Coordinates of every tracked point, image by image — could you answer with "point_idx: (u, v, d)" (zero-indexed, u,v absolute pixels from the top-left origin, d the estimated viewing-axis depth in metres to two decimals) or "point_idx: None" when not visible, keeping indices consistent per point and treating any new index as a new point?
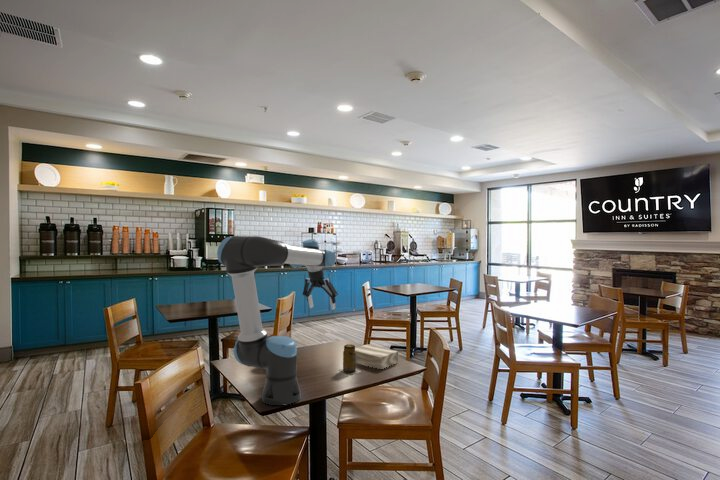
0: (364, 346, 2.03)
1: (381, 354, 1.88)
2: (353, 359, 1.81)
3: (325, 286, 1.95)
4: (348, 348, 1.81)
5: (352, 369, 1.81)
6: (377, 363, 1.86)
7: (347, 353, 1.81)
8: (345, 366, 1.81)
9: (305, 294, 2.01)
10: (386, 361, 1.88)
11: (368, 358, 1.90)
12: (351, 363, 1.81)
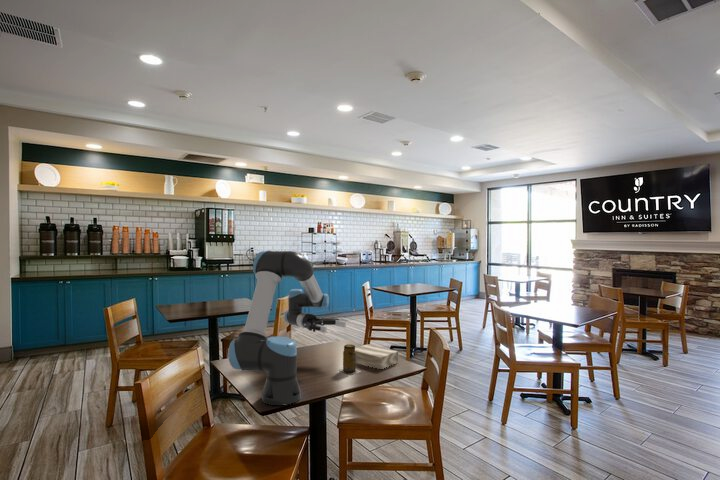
0: (364, 346, 2.03)
1: (381, 354, 1.88)
2: (353, 359, 1.81)
3: None
4: (348, 348, 1.81)
5: (352, 369, 1.81)
6: (377, 363, 1.86)
7: (347, 353, 1.81)
8: (345, 366, 1.81)
9: (312, 326, 1.88)
10: (386, 361, 1.88)
11: (368, 358, 1.90)
12: (351, 363, 1.81)
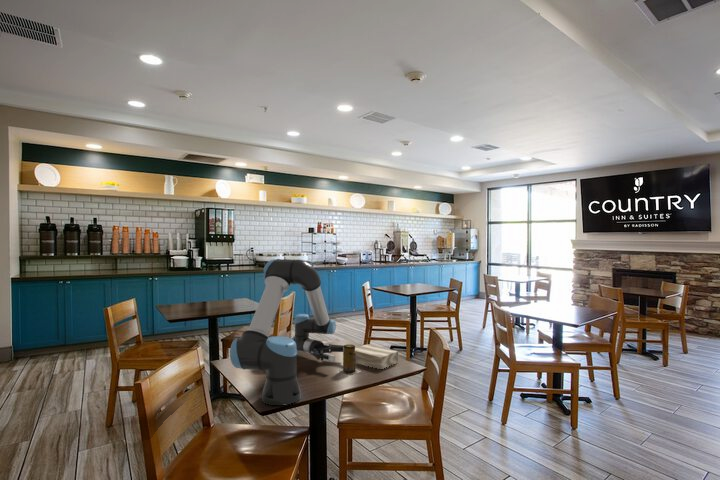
0: (364, 346, 2.03)
1: (381, 354, 1.88)
2: (353, 359, 1.81)
3: None
4: (348, 348, 1.81)
5: (352, 369, 1.81)
6: (377, 363, 1.86)
7: (347, 353, 1.81)
8: (345, 366, 1.81)
9: (320, 355, 1.85)
10: (386, 361, 1.88)
11: (368, 358, 1.90)
12: (351, 363, 1.81)
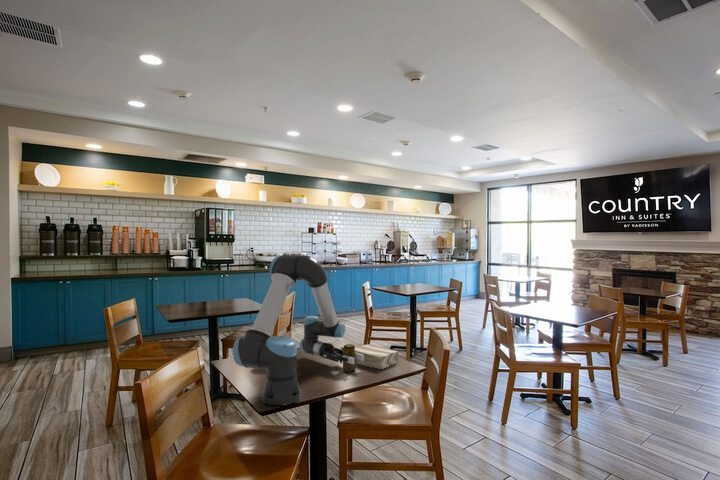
0: (364, 346, 2.03)
1: (381, 354, 1.88)
2: None
3: None
4: (348, 348, 1.81)
5: (352, 369, 1.81)
6: (377, 363, 1.86)
7: (347, 353, 1.80)
8: (345, 366, 1.81)
9: (339, 357, 1.80)
10: (386, 361, 1.88)
11: (368, 358, 1.90)
12: None
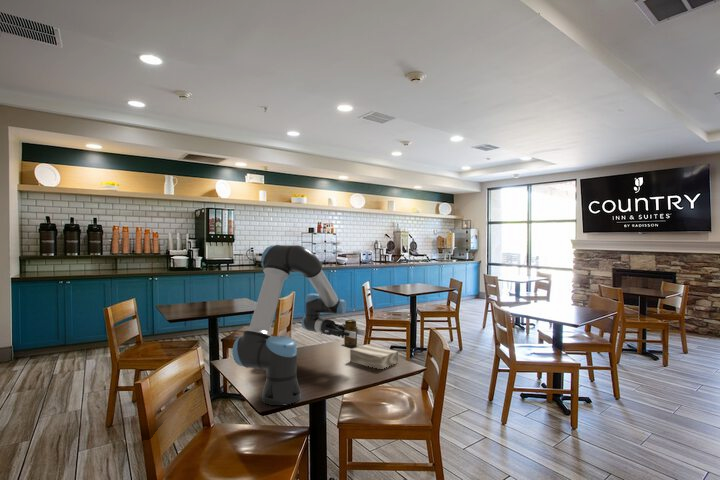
0: (364, 346, 2.03)
1: (381, 354, 1.88)
2: None
3: None
4: (349, 323, 1.82)
5: (353, 344, 1.82)
6: (377, 363, 1.86)
7: (348, 328, 1.81)
8: (346, 341, 1.82)
9: (340, 332, 1.81)
10: (386, 361, 1.88)
11: (368, 358, 1.90)
12: (352, 338, 1.82)
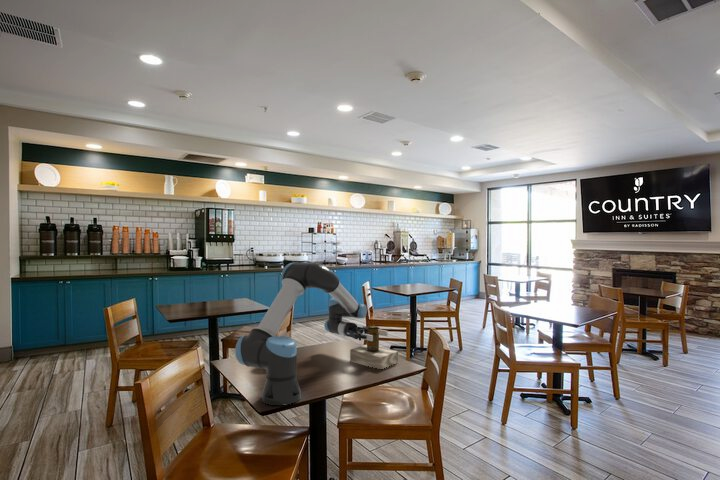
0: (364, 346, 2.03)
1: (381, 354, 1.88)
2: (377, 339, 1.94)
3: None
4: (372, 329, 1.94)
5: (376, 348, 1.94)
6: (377, 363, 1.86)
7: (371, 334, 1.94)
8: (369, 345, 1.94)
9: (358, 335, 1.92)
10: (386, 361, 1.88)
11: (368, 358, 1.90)
12: (375, 343, 1.94)
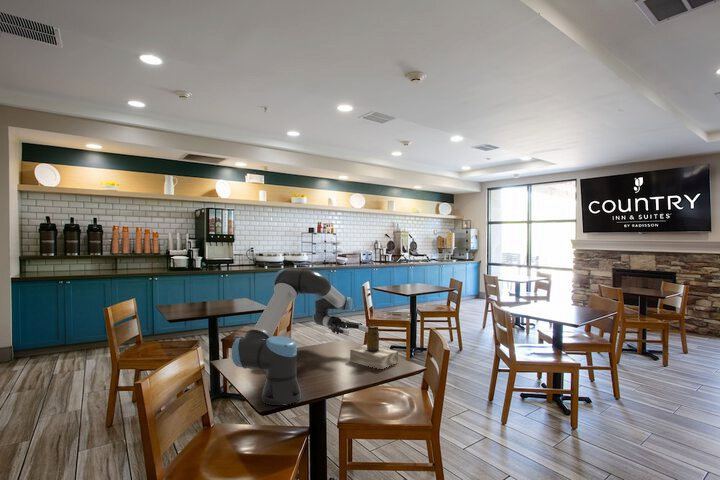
0: (364, 346, 2.03)
1: (381, 354, 1.88)
2: (377, 339, 1.94)
3: None
4: (372, 329, 1.94)
5: (376, 348, 1.94)
6: (377, 363, 1.86)
7: (371, 334, 1.94)
8: (369, 345, 1.94)
9: (335, 328, 2.00)
10: (386, 361, 1.88)
11: (368, 358, 1.90)
12: (375, 343, 1.94)
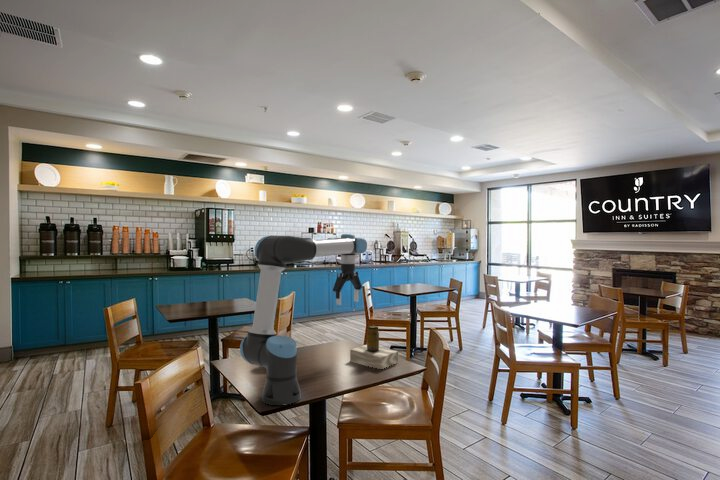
0: (364, 346, 2.03)
1: (381, 354, 1.88)
2: (377, 339, 1.94)
3: None
4: (372, 329, 1.94)
5: (376, 348, 1.94)
6: (377, 363, 1.86)
7: (371, 334, 1.94)
8: (369, 345, 1.94)
9: None
10: (386, 361, 1.88)
11: (368, 358, 1.90)
12: (375, 343, 1.94)
